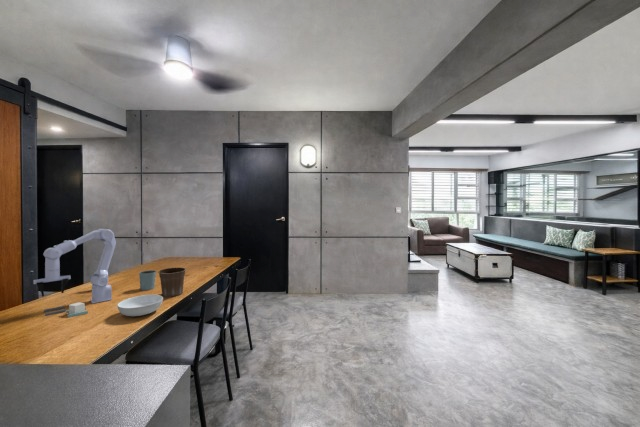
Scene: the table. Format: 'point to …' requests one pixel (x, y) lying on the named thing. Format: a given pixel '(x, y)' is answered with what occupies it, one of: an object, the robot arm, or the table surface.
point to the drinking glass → (147, 280)
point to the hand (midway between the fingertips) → (52, 294)
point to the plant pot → (172, 281)
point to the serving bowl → (140, 305)
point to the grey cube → (76, 308)
